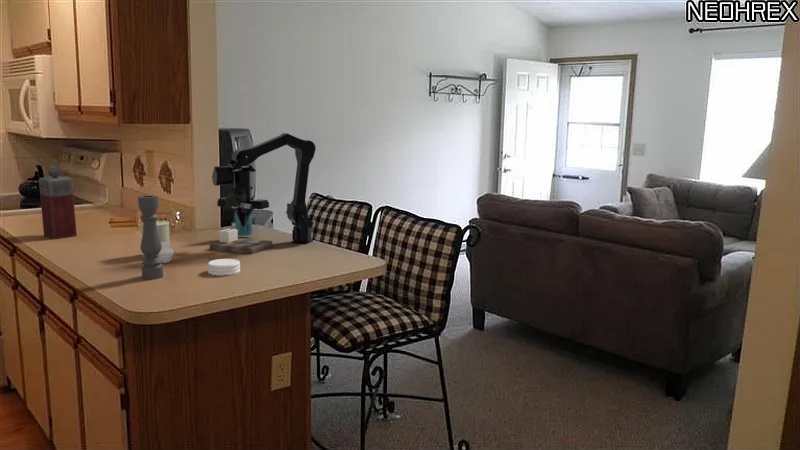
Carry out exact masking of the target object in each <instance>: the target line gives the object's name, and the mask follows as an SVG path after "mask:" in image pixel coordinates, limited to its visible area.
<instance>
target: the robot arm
mask: <svg viewBox="0 0 800 450" xmlns="http://www.w3.org/2000/svg"><path fill="white" fill-rule="evenodd" d="M285 146H288V147H290V149H291V148H292V149H294V155H295V159H296V163H297V164H296V173H295V182H294V190H293V198H292V200H291V202H290V203H288V202H287V203H286V211H285V214H286V217H287V219H288V220H289V221H290V223H291V224H292V227H293V228H292V230H291V231H292V232H291V233H292V234H291V235H292V241H291V243H292V244H293V243H295V244H304V245H306V244H308V243H311V242H312V243H313V241H314V239H312V228H313V226H314V221H313V220H312V219H311V218H309V216H308V215H309V214H308V207H307V204H306V196H307V188H308V181H309V171H310V165H311V163H312V161H313V159H314V158H315V157H314V156H315V153H316V148H317V147H316V144H315V143H314V142H313V141H312V140H309V139H302V138H299V137H296V136H294V135H292V134H291V133H286V132H283V133H281V134H279V135H277V136H274V137H273V138H270V139H268V140H265V141H263V142H261V143H258V144H255V145H253V146H247V147H242V148H238V149H235V150H234V151H232V154H231V159H230V160H229V161H228V163H227V164H226V166H216V165H215V166H213V170H212V171H213V172H212V174H211V178H212V179H211V181H212V184H213V186H218V187H219V186H231V185H232V183H234V185H233V187H232V186H231V187H232V189H231V193H229V194H228V195H227V196H225V197H224V196H223V197H220V198H218V199H217V202H216V203H217V205H216V206H217V207H221V208H223V207H228V208H230V210H233V211H234V212H236V213H237V215H238V217H239V220H240V222H241V225H242V226H246V223H247V221H248V218H249V216H250V214H251V213H252V212H253V210H264V209H267V208H270V203H269V201H268V200H267V199H255V200H254V198H253V197H252V195H251V194H252V193H251V190H253V186H252V185H251V173H252V172H253V173H254V172H256V171H257V170H256V169H255V167H253V165H252V163H253V162H256V160H258V159H259V157H261V156H264V155H266V154H268V153H270V152H272V151H274V150H277V149H280V148H282V147H285ZM251 215H252V214H251Z"/></svg>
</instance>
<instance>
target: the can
mask: <svg viewBox="0 0 800 450" xmlns="http://www.w3.org/2000/svg"><path fill="white" fill-rule="evenodd" d="M140 225H141V235H142V236H143V222H141V224H140ZM156 225H157V232H158V235H159V239H160V242H161V243H162V242H167V243H169V244H170V245H171V241H170V222H169V221H167V220H156ZM142 236H141V237H142ZM142 257H143V258H145V257H144V254H143V253H142Z"/></svg>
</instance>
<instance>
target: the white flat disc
mask: <svg viewBox="0 0 800 450" xmlns="http://www.w3.org/2000/svg"><path fill="white" fill-rule="evenodd" d="M240 272H241V261H240V260H238V259H236V258H219V259H218V258H217V259H213V260H210V261H209V262H207V273H208V274H209V275H210V274H211V275H210V276H215V275H216V277H217V276H218V277H223V276H224V277H225V275H227V276H234V275H237V274H239V273H240ZM233 274H234V275H233Z"/></svg>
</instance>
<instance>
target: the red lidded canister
mask: <svg viewBox="0 0 800 450" xmlns="http://www.w3.org/2000/svg"><path fill="white" fill-rule="evenodd" d="M47 173H48V175H49V176H48V177H47V176H46V177H40V178H38V184H39V195H40V196H39V198H40V205H41V215H42V216H41V217H42V219H41V220H42V228H43V229H42V230H43V237H45V238H47V239H52V240H59V239H60V240H61V239H64V238H72V237H73V238H74V237H77V232H78V231H77V224H76V209H75V199H74V198H75V197H74V185H73V179H72V178H71V177H68V176H61V175H62V168H61V167H59V166H56V165H52V166H49V167H48V171H47Z"/></svg>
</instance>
